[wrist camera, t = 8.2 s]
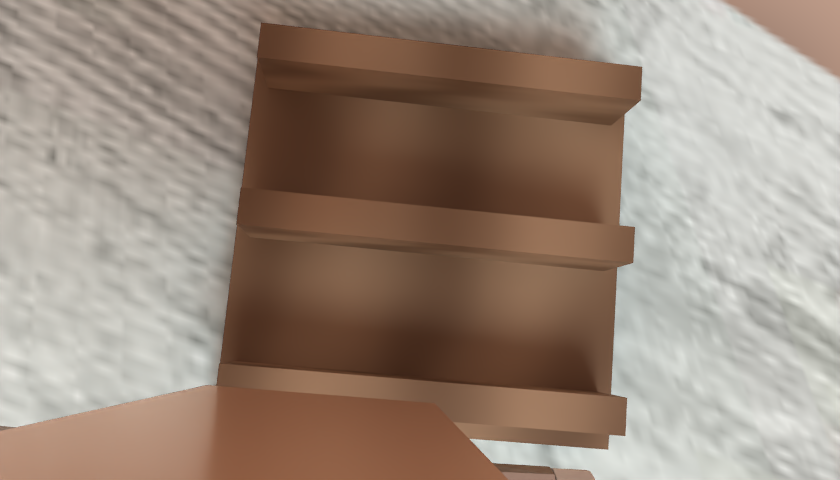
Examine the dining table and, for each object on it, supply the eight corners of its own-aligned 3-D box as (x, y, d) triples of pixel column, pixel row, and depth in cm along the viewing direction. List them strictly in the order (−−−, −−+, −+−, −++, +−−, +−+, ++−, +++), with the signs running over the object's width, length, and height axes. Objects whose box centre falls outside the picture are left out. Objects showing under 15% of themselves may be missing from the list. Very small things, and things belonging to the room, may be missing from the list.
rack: (221, 413, 27) (194, 427, 23) (265, 50, 29) (249, -2, 25) (594, 443, 28) (639, 462, 24) (613, 90, 30) (657, 46, 26)
